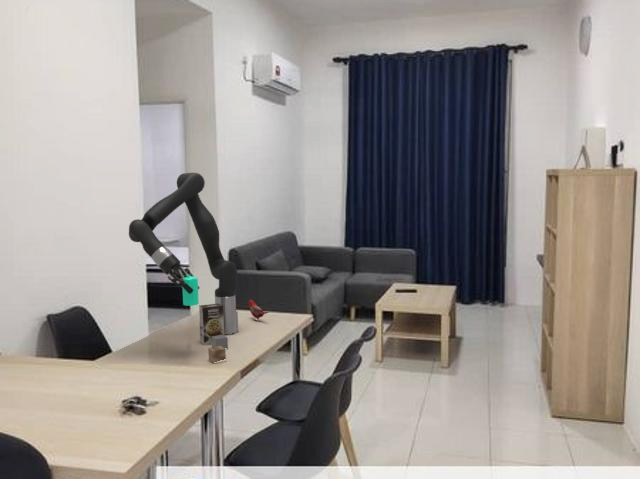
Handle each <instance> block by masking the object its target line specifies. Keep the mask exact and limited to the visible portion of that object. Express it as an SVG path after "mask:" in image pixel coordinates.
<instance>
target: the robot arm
mask: <svg viewBox="0 0 640 479" xmlns="http://www.w3.org/2000/svg"><path fill="white" fill-rule="evenodd" d="M205 183H206V182H205V178H204V177H203V176H202V175H201V174H200V173H198V172H185V173H182V174H181V173H180V175H178V177H177V180H176V187H177V189H176V190H175V191H173V192H172V193H170V194H168V195H167V196H165V197H163V198H161V199H160V200H159V201H157V202H156V203H155V204H153V206H151V207H150V208H149V209H147V210H146V212H145V213H144V215H143V217H142V218H141V219H134V220H132V221H130V223H129V226H128V237H129V238H130V240H131V241H132V242H134V243H140V244H141V246H142V248H143V251H144V252H145V253H146V254H147V255H148V256H149V257H150V258H151V260H152V261H153V263H155V265H156V266H157V267H158V268H159V269H160V270H161V271H162V272H163V273H164V274H165V275H167V279H168V280H169V281H171V282H172V283H173V284H174V285H175V286H176V287H177V288H182V289H183V288H184V289H185V290H186V291H187V292H188V293H189V294H191V293H192V292H193V289H192V288H191V287H190V286H189V285H188V284H187V283H186V282H185V281H184V279H185V277H190V276H192V277H195V276H194V275H193V274H192V272H191V271H190V269H189V268H187V267H186V268H185V269H184V268H183V267H182V266H181V260H180V259H178V258H177V256H176V255H175V254H174V253H173V252H172V251H171V250H170V249H169V248H167V247H166V245H164V243H162V242H161V240H159V238H158V237H157V236H156V234H155V233H154V230H155V229H156V228H157V226H158V225H159V224H161V223H162V222H163V221H164V220H165V219H166V218H168V216H170V214H172V213H173V212H175V210H177V209H178V208H180V206H182V205H183V204H184V203H185V205H186V208H187V211H188V212H189V215H190V218H191V221H192V222H193V225H194V228H195V230H196V233H197V236H198V239H199V241H200V243H201V245H202V249H203V251H204V253H205V257H206V260H207V263H208V266H209V270H210V274H211V275H212V277H213V278H214V279H216V280H218V287H217V288H216V289H215V290H214V304H218V303H219V304H221V305H223V315H224V336H226V335H225V334H229V335H232V334H231V333H234V334H236V333H239V316H238V315H239V314H238V313H239V312H238V311H237V308H236V307H237V301H236V291H237V289H238V270H237V268H238V267H237V266H236V264H235V263H234V262H233V261H229V260H226V259H225V258H224V256H223V253H222V251H221V247H220V230H219V228H218V225H217V224H218V223H217V222H216V220H215V218H214V216H213V214H212V212H210V211H209V209H208V208H207V207H206V206H205V204H204V203H203V202H202V200H201V197H200V195H199V193H201V192H202V191H203V190H204V188H205ZM198 290H200V285H198ZM235 332H236V333H235Z"/></svg>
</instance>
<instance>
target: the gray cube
mask: <svg viewBox="0 0 640 479" xmlns="http://www.w3.org/2000/svg"><path fill="white" fill-rule="evenodd" d="M228 340H229V339H228V336H227V335H218V336H212V344H211V347H217V346H222V347H223V348H228V349H229V346H228V345H229V344H228Z"/></svg>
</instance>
